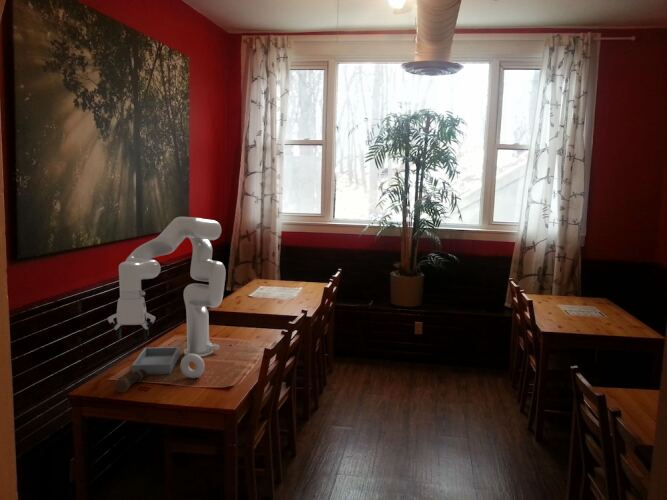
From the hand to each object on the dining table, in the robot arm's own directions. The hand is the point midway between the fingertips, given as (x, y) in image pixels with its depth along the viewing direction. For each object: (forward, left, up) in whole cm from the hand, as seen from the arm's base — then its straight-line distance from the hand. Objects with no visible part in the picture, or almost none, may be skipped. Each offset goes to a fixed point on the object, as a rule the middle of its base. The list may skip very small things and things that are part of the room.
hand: (132, 338), depth 203 cm
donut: (-21, -5, -18) cm, 28 cm away
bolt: (+1, 0, -19) cm, 19 cm away
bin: (-4, -20, -18) cm, 27 cm away
